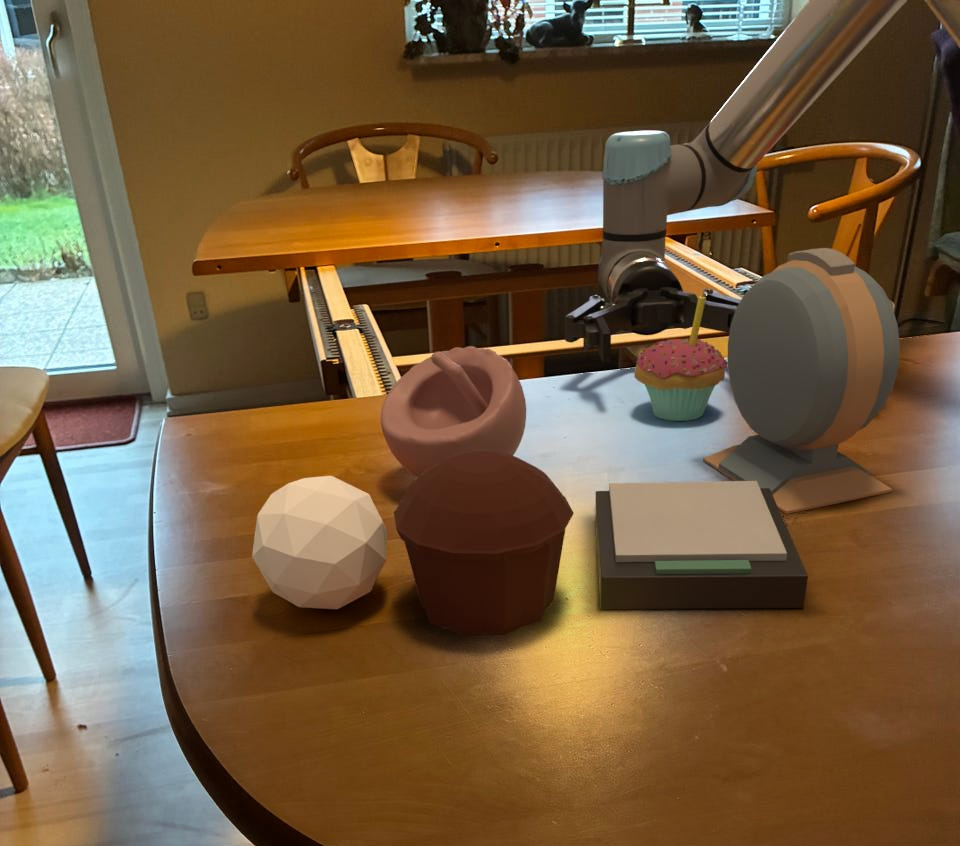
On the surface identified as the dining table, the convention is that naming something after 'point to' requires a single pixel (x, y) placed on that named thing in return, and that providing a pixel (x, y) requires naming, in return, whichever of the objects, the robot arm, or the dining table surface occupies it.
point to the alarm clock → (809, 378)
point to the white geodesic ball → (320, 542)
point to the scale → (695, 547)
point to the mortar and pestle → (454, 408)
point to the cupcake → (681, 373)
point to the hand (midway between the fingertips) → (678, 344)
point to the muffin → (484, 541)
